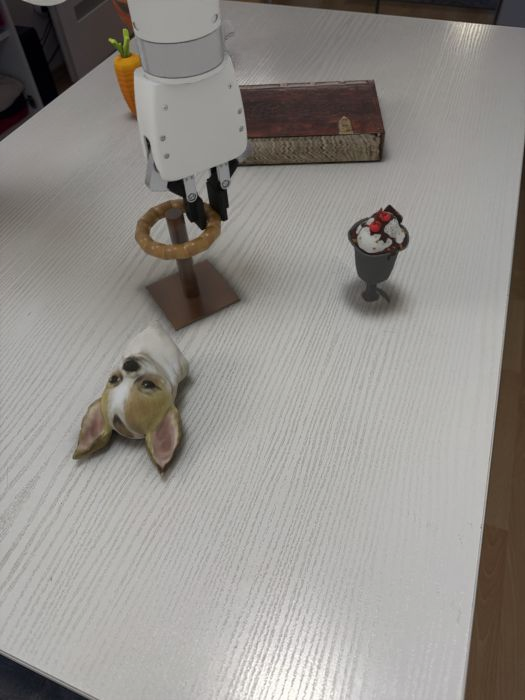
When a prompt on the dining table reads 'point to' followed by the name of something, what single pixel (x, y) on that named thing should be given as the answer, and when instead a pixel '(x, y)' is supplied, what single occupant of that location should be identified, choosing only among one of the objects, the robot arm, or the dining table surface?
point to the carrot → (126, 70)
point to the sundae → (377, 248)
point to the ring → (176, 249)
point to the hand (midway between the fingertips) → (208, 218)
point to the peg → (189, 284)
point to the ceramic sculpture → (140, 399)
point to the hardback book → (313, 122)
